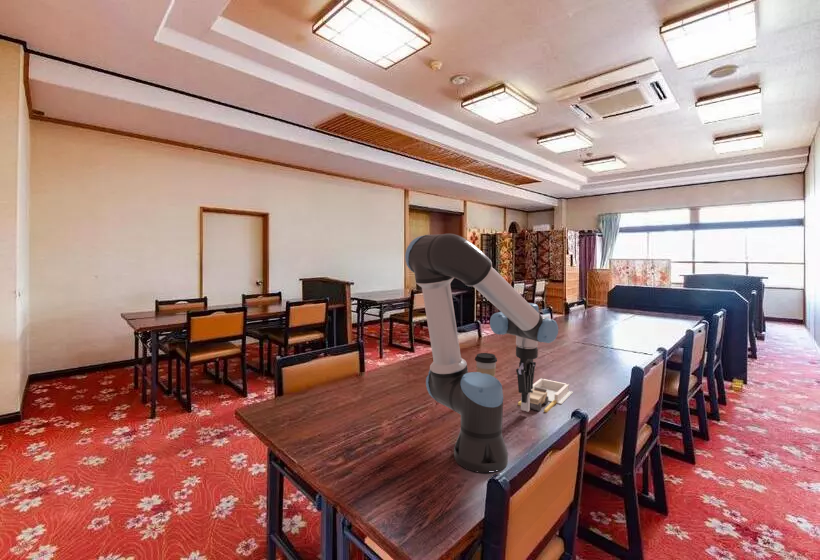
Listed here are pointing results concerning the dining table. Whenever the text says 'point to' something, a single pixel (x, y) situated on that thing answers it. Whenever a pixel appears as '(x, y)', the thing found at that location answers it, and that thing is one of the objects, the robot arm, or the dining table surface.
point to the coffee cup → (486, 363)
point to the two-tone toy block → (538, 398)
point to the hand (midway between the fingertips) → (525, 410)
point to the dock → (553, 392)
